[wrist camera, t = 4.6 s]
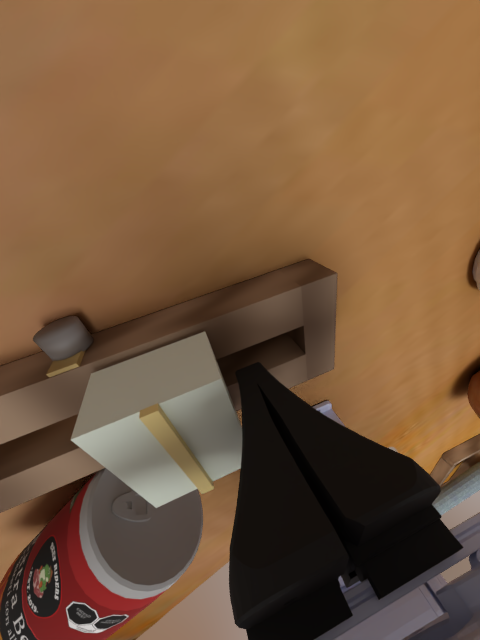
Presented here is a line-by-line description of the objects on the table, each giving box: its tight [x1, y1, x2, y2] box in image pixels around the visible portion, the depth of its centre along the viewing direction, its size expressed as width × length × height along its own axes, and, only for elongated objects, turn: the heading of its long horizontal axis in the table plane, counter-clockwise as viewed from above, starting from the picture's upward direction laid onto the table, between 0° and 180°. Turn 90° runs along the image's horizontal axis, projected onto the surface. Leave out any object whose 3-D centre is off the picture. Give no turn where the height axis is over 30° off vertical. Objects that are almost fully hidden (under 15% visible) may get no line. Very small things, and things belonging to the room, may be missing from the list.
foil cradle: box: [430, 434, 480, 488], centre depth 53 cm, size 12×28×2 cm, turn 13°
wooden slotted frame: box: [0, 259, 337, 513], centre depth 13 cm, size 26×10×2 cm, turn 103°
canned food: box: [0, 468, 203, 640], centre depth 15 cm, size 8×8×11 cm
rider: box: [71, 332, 242, 508], centre depth 11 cm, size 5×6×6 cm
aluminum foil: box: [432, 462, 480, 515], centre depth 51 cm, size 23×7×3 cm, turn 130°
